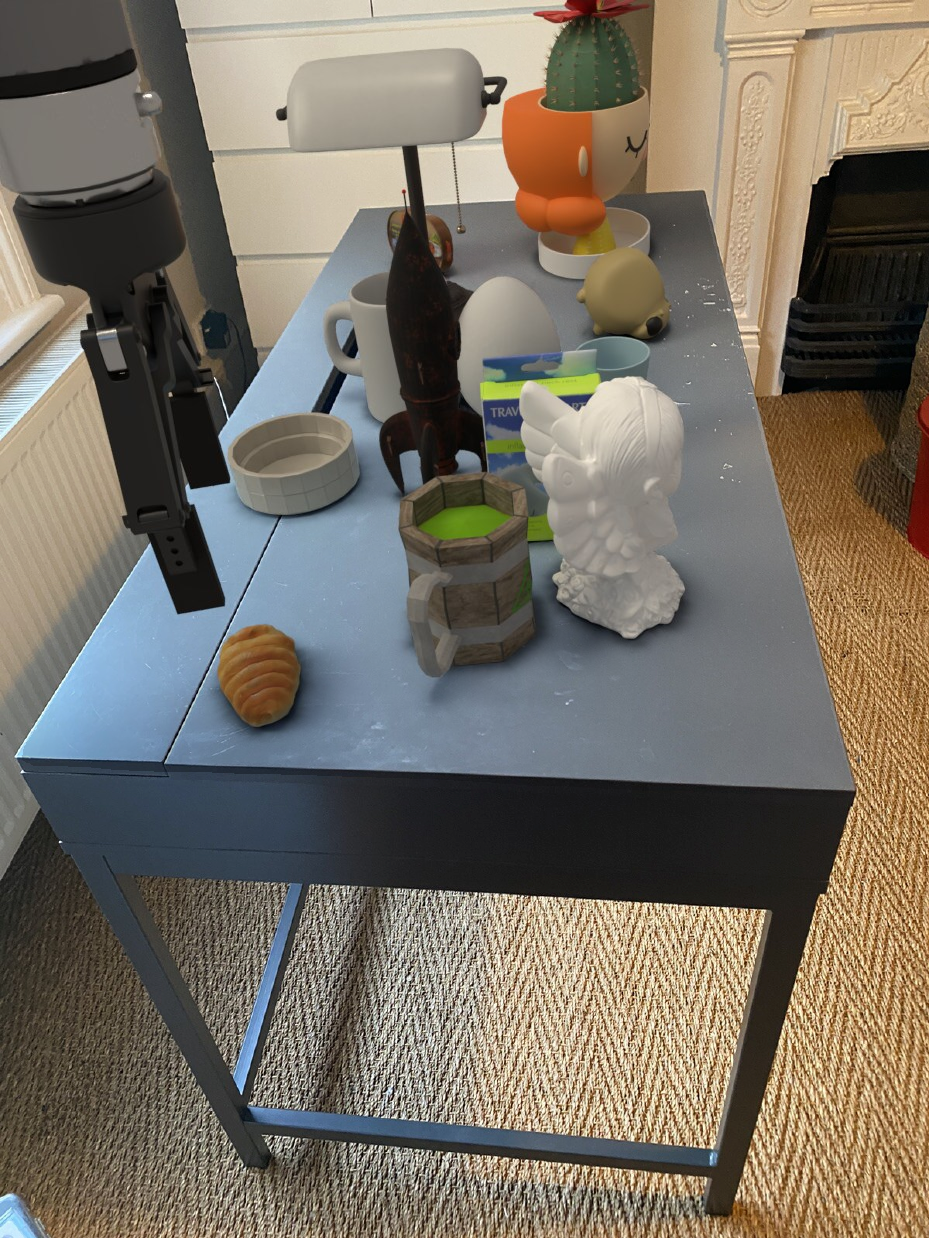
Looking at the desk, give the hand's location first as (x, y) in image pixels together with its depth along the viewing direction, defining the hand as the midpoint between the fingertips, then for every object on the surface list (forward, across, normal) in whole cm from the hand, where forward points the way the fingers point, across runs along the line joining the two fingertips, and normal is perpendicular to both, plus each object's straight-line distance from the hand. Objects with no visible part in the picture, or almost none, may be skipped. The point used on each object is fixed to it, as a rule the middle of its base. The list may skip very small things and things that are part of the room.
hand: (206, 540), depth 58 cm
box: (+20, +22, -27) cm, 40 cm away
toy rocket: (+20, +31, -18) cm, 41 cm away
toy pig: (+20, +62, -47) cm, 80 cm away
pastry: (+20, +8, +1) cm, 22 cm away
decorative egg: (+20, +48, -28) cm, 59 cm away
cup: (+20, +36, -37) cm, 55 cm away
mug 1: (+20, +53, -16) cm, 59 cm away
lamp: (+20, +74, -22) cm, 80 cm away
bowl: (+20, +38, -3) cm, 43 cm away
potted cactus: (+20, +92, -49) cm, 106 cm away
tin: (+20, +97, -25) cm, 102 cm away
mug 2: (+20, +8, -16) cm, 27 cm away
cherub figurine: (+20, +10, -29) cm, 37 cm away
